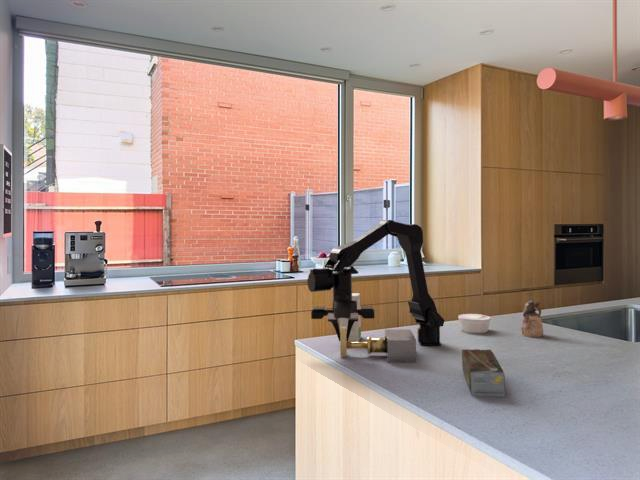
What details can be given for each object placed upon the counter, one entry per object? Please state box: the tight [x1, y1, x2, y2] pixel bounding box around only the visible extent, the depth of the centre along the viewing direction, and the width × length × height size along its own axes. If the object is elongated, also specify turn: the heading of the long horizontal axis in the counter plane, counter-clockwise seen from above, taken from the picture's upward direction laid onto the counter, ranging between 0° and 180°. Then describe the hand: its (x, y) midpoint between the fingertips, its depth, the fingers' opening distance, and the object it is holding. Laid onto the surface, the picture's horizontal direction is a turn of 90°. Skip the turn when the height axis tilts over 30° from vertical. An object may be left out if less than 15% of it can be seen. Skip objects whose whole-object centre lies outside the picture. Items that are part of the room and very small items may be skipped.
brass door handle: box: [339, 326, 387, 357], centre depth 144 cm, size 14×5×8 cm, turn 86°
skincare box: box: [339, 292, 362, 342], centre depth 165 cm, size 8×7×16 cm
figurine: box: [520, 300, 544, 338], centre depth 166 cm, size 7×7×12 cm
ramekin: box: [457, 313, 492, 334], centre depth 175 cm, size 11×11×5 cm
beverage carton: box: [461, 349, 506, 398], centre depth 118 cm, size 8×19×7 cm, turn 169°
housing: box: [384, 328, 417, 364], centre depth 143 cm, size 8×14×6 cm, turn 176°
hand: (343, 340), depth 144 cm, fingers closed on brass door handle, 2 cm apart
